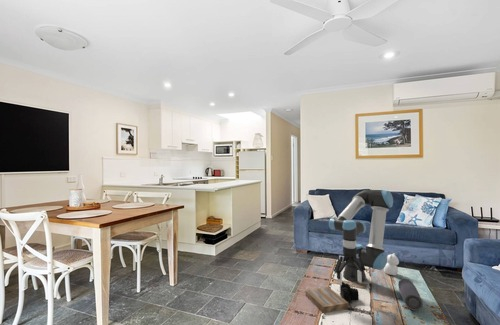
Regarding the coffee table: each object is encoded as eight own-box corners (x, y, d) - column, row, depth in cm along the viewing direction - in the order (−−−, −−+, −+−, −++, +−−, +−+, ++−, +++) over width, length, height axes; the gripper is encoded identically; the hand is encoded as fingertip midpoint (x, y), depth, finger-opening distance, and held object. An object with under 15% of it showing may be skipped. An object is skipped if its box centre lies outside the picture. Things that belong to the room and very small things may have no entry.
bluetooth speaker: (397, 292, 159) (396, 276, 160) (414, 295, 156) (414, 278, 156) (403, 310, 138) (403, 292, 139) (423, 314, 135) (423, 295, 135)
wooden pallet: (328, 291, 160) (328, 287, 160) (348, 308, 141) (348, 302, 141) (305, 295, 156) (305, 290, 156) (323, 312, 137) (323, 307, 137)
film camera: (360, 307, 142) (360, 290, 143) (342, 305, 144) (342, 289, 145) (355, 294, 157) (355, 279, 157) (339, 292, 159) (338, 278, 159)
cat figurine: (396, 278, 181) (396, 256, 181) (378, 272, 190) (378, 252, 191) (401, 274, 187) (401, 254, 187) (383, 269, 196) (383, 249, 197)
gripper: (362, 243, 158) (363, 278, 157) (327, 246, 152) (327, 282, 151) (371, 247, 151) (372, 283, 150) (334, 250, 145) (335, 288, 144)
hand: (349, 283), depth 150 cm, fingers open, 13 cm apart
